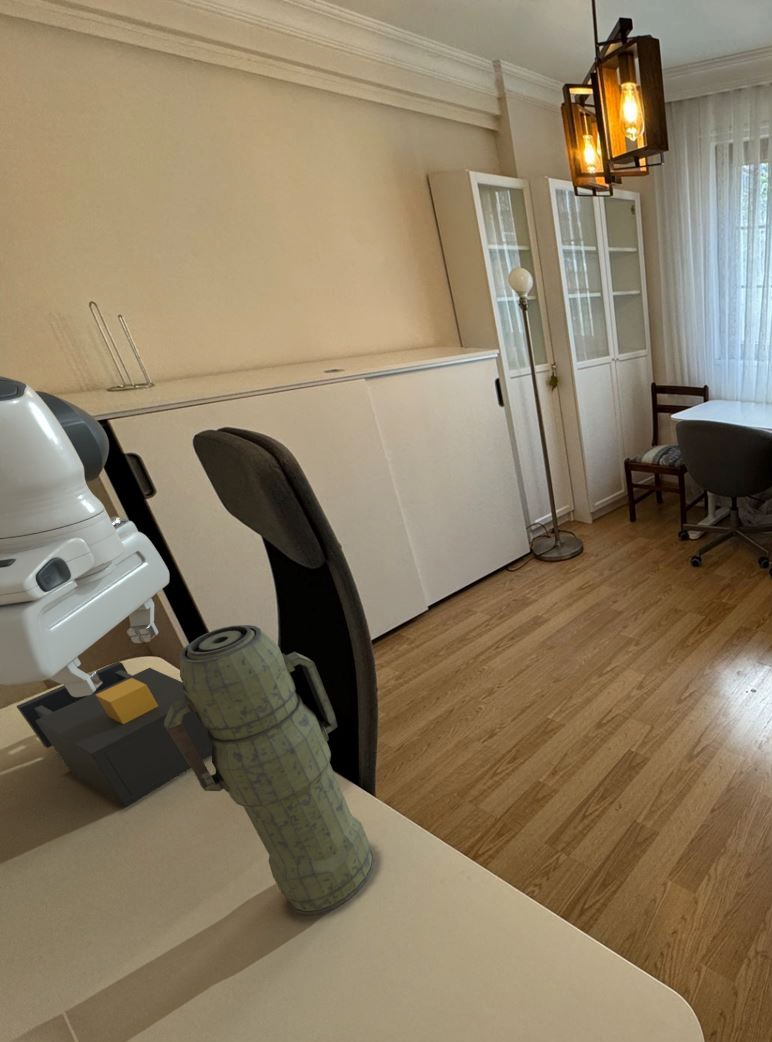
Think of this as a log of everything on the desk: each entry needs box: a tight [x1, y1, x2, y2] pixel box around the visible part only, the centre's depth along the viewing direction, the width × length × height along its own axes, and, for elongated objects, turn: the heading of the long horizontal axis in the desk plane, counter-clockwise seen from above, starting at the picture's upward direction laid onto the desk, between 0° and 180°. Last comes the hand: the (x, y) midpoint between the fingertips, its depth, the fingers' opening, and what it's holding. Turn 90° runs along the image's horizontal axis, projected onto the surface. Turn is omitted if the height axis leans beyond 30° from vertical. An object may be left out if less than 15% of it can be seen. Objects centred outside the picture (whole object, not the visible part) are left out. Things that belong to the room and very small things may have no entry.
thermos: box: [164, 624, 375, 916], centre depth 60 cm, size 9×12×35 cm
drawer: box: [16, 661, 132, 749], centre depth 88 cm, size 19×12×8 cm, turn 67°
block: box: [96, 678, 158, 724], centre depth 79 cm, size 4×4×4 cm
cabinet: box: [35, 667, 212, 808], centre depth 83 cm, size 16×13×10 cm
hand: (119, 663), depth 60 cm, fingers open, 8 cm apart
